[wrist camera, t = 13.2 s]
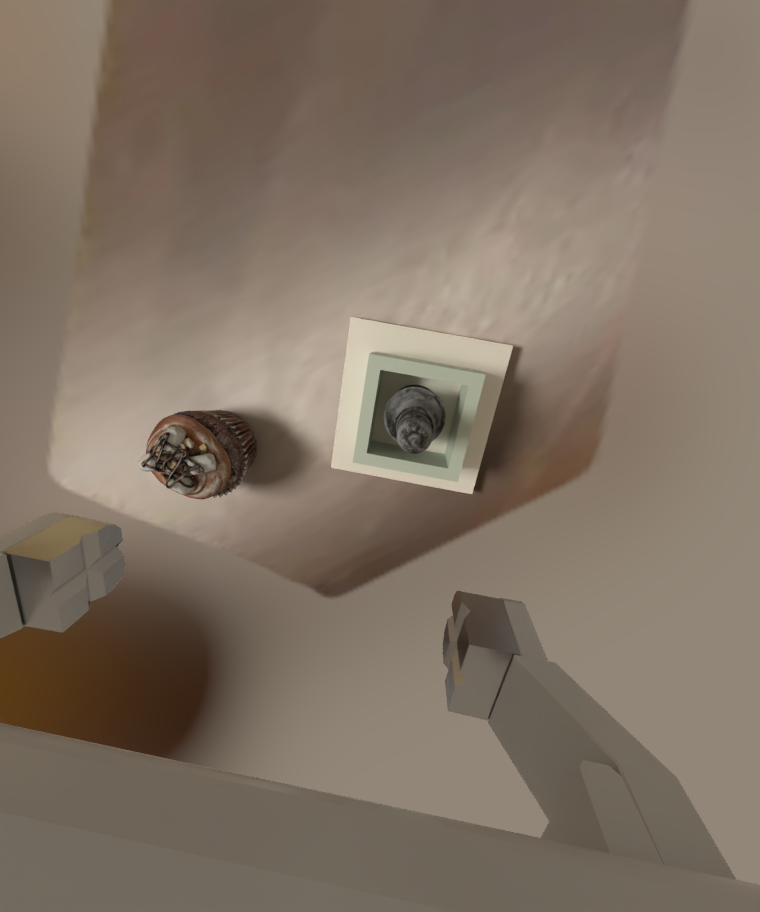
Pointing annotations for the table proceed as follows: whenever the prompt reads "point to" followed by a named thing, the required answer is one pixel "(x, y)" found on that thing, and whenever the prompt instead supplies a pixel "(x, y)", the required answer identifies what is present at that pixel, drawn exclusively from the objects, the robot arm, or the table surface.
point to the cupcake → (200, 453)
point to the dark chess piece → (414, 418)
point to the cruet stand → (430, 365)
